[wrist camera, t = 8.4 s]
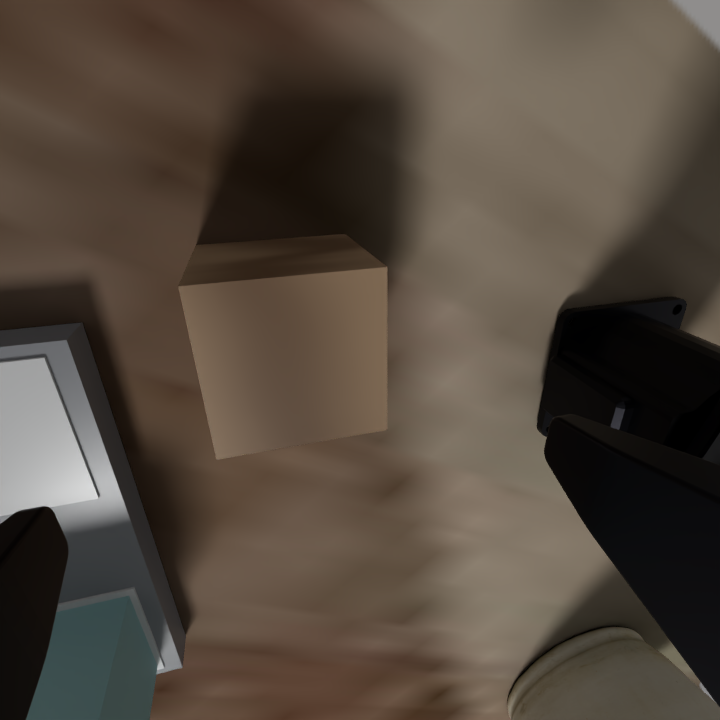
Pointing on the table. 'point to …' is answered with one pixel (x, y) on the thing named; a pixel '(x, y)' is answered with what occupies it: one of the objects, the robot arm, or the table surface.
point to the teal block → (96, 666)
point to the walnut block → (287, 340)
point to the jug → (607, 683)
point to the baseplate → (80, 479)
